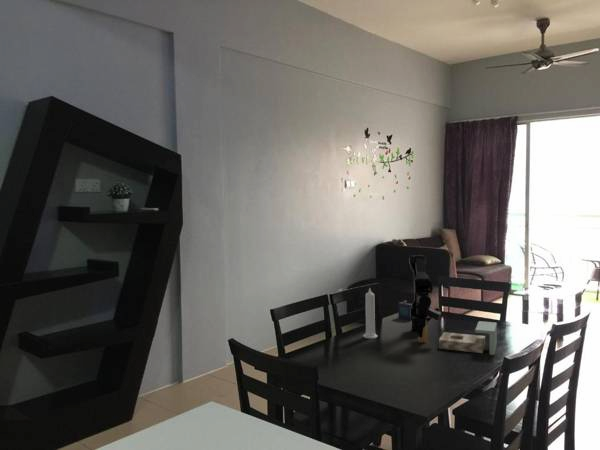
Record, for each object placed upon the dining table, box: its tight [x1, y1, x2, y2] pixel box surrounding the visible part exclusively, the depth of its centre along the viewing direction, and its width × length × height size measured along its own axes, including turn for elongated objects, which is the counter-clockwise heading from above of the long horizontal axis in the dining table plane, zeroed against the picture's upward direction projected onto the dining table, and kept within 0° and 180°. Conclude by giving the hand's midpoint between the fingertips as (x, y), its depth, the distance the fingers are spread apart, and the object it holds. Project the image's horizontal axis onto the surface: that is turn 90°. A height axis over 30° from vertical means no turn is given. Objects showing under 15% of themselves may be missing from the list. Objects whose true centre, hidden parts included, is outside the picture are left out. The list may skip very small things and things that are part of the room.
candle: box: [363, 287, 378, 340], centre depth 251 cm, size 7×7×25 cm
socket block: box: [438, 331, 486, 354], centre depth 233 cm, size 19×14×4 cm
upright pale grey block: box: [474, 320, 498, 356], centre depth 228 cm, size 8×16×11 cm, turn 155°
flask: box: [398, 300, 412, 321], centre depth 286 cm, size 9×3×11 cm, turn 44°
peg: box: [418, 325, 428, 344], centre depth 241 cm, size 4×4×10 cm
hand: (422, 335), depth 242 cm, fingers open, 9 cm apart
